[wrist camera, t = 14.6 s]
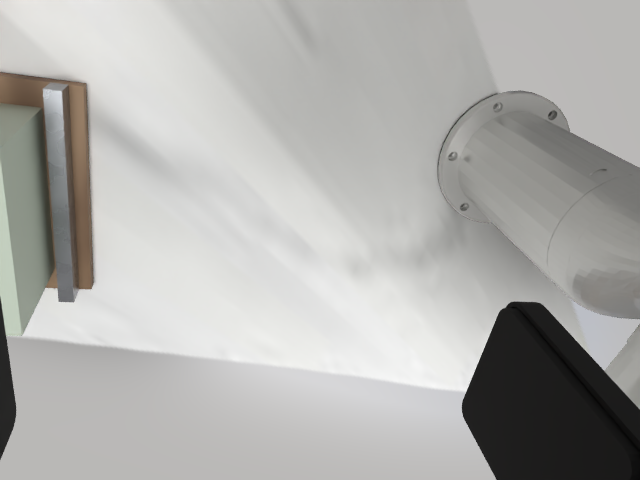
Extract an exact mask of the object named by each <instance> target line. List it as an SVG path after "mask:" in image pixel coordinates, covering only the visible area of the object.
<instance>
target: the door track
mask: <svg viewBox="0 0 640 480" xmlns="http://www.w3.org/2000/svg"><path fill="white" fill-rule="evenodd" d="M0 103H4V104H13V105H22V106H30V107H39V108H42V113H43V125H44V138H45V151H46V163H47V176H48V189H49V202H50V214H51V227H52V240H53V252H54V265H55V269H54V271H53V273H52V275H51V277H50V279H49V281H48V283H47V285H46V287H45V288H58V298H59V302H74V301H75V298H76V296H77V293H78V291H79V289H92V286H93V258H92V230H91V202H90V175H89V147H88V120H87V92H86V83H79V82H71V81H63V80H55V79H48V78H40V77H32V76H24V75H16V74H8V73H1V72H0Z"/></svg>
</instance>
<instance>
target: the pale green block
mask: <svg viewBox="0 0 640 480" xmlns="http://www.w3.org/2000/svg"><path fill="white" fill-rule="evenodd" d="M54 269H55V265H54V252H53V240H52V227H51V214H50V202H49V189H48V176H47V163H46V151H45V138H44V125H43V113H42V108H39V107H30V106H22V105H13V104H4V103H0V297H1V304H2V311H3V318H4V325H5V332H6V336H22V335H23V333H24V331H25V329H26V327H27V325H28V323H29V320H30V318H31V316H32V314H33V312H34V310H35V308H36V306H37V304H38V302H39V300H40V298H41V296H42V294H43V292H44V290H45V287H46V285H47V283H48V281H49V279H50V277H51V275H52V273H53V271H54Z"/></svg>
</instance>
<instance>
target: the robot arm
mask: <svg viewBox="0 0 640 480" xmlns="http://www.w3.org/2000/svg"><path fill="white" fill-rule="evenodd" d="M494 105H495V106H494ZM493 106H494V107H493ZM450 153H451V154H450ZM449 154H450V155H449ZM438 178H439V183H440V187H441V191H442V193H443V195H444V196H445V198H446V200H447V201H448V202H449V204H450V205H451V206H452V207H453V208H454V209H455V210H456V211H457V212H458V213H459V214H461V215H462V216H464V217H466V218H468V219H470V220H474V221H477V222H483V223H493V224H494V225H495V226H496V227H497V228H498V229H499V230H500V231H501V232H502V233H503V234H504V235H505V236H506V237H507V238H508V239H509V240H510V241H511V242H512V243H513V244H514V245H516V246H517V247H518V248H519V249H520V250H521V251H522V252H523V253H524V254H525V255H526V256H527V257H528V258H529V259H530V260H531V261H532V262H533V263H534V264H535V265H536V266H537V267H538V268H539V269H540V270H541V271H542V272H543V273H544V274H545V275H546V276H547V277H548V278H549V279H550V280H551V281H552V282H553V283H555V284H556V285H557V286H558V287H559V288H560V289H561V290H562V291H563V292H564V293H565V294H566V295H567V296H568V297H569V298H570V299H572V300H573V301H574V302H576V303H577V304H579V305H580V306H582V307H584V308H586V309H588V310H591V311H593V312H596V313H599V314H602V315H607V316H612V317H617V318H629V319H640V168H639V167H637V166H635V165H633V164H631V163H629V162H627V161H625V160H623V159H621V158H619V157H617V156H615V155H613V154H611V153H609V152H607V151H606V150H604V149H602V148H600V147H598V146H596V145H594V144H592V143H590V142H588V141H586V140H584V139H582V138H580V137H578V136H576V135H574V134H573V133H570V130H569V127H568V123H567V120H566V118H565V116H564V115H563V113H562V112H561V110H560V109H559V108H558V107H557V106H556V105H555V104H554V103H553V102H551V101H550V100H548V99H546V98H544V97H542V96H540V95H537V94H535V93H532V92H525V91H509V92H504V93H500V94H497V95H494V96H492V97H489V98H487V99H485V100H483V101H481V102H480V103H478V104H477V105H475V106H474V107H472V108H471V109H470V110H469V111H468V112H467V113H465V114H464V115H463V116H462V117H461V118H460V119H459V121H458V122H457V123H456V124H455V126H454V127H453V128H452V130H451V131H450V133H449V135H448V137H447V139H446V140H445V142H444V145H443V148H442V151H441V154H440V159H439V165H438ZM462 413H463V417H464V419H465V421H466V423H467V425H468V427H469V429H470V431H471V432H472V434H473V436H474V438H475V440H476V442H477V444H478V446H479V447H480V449H481V451H482V453H483V455H484V457H485V459H486V460H487V462H488V464H489V466H490V468H491V470H492V472H493V473H494V475H495V477H496V479H497V480H640V324H639V326H638V327H637V328H636V330H635V331H634V332H633V334H632V335H631V336H630V337H629V339H628V340H627V344H626V345H625V346H624V347H623V349H622V350H621V351H620V352H619V354H618V355H617V356H616V357H615V358H614V360H613V361H612V362H611V363H610V364H609V366H608V367H607V368H606V369H605V371H604V370H603V369H602V368H601V367H600V366H599V365H598V364H597V363H596V362H595V361H594V360H593V358H592V357H591V356H590V355H589V354H588V353H587V352H586V351H585V350H584V349H583V348H582V347H581V345H580V344H579V343H578V342H577V341H576V340H575V339H574V338H573V337H572V336H571V335H570V334H569V333H568V331H567V330H566V329H565V328H564V327H563V326H562V325H561V324H560V323H559V322H558V321H557V320H556V319H555V317H554V316H553V315H552V314H551V313H550V312H549V311H548V310H547V309H546V308H545V307H544V306H543V305H542V304H541V303H537V302H511V303H509V304H508V305H507V307H506V308H504V309H502V310H501V311H500V312H499V314H498V317H497V319H496V321H495V324H494V326H493V329H492V331H491V334H490V336H489V338H488V341H487V343H486V346H485V348H484V351H483V353H482V355H481V358H480V360H479V363H478V365H477V368H476V370H475V372H474V375H473V377H472V380H471V382H470V384H469V387H468V389H467V392H466V394H465V397H464V399H463V403H462ZM15 418H16V403H15V396H14V389H13V382H12V375H11V368H10V361H9V354H8V346H7V339H6V332H5V325H4V318H3V311H2V304H1V297H0V459H1V456H2V454H3V452H4V449H5V447H6V445H7V442H8V440H9V437H10V435H11V432H12V430H13V427H14V423H15Z"/></svg>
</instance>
